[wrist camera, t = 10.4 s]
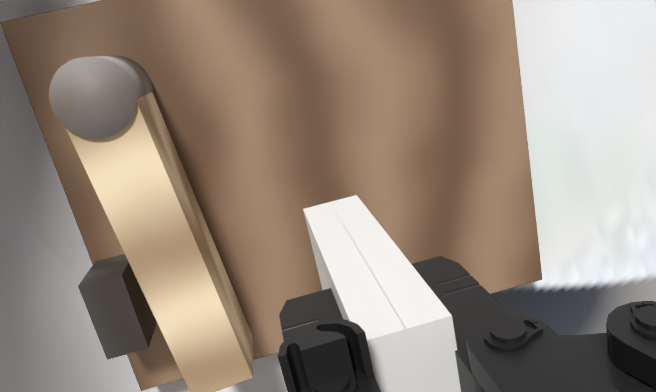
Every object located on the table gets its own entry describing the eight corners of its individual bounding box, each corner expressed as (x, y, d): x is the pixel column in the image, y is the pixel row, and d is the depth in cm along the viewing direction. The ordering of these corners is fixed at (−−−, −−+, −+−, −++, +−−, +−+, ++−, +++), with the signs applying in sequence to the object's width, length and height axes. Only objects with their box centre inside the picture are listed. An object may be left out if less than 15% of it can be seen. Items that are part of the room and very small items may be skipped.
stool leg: (70, 68, 25) (34, 72, 20) (136, 46, 25) (114, 45, 21) (198, 352, 29) (191, 402, 25) (253, 332, 30) (255, 379, 25)
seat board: (147, 370, 32) (129, 427, 27) (18, 24, 26) (-34, 18, 21) (525, 266, 33) (571, 302, 29) (485, -78, 28) (535, -104, 23)
